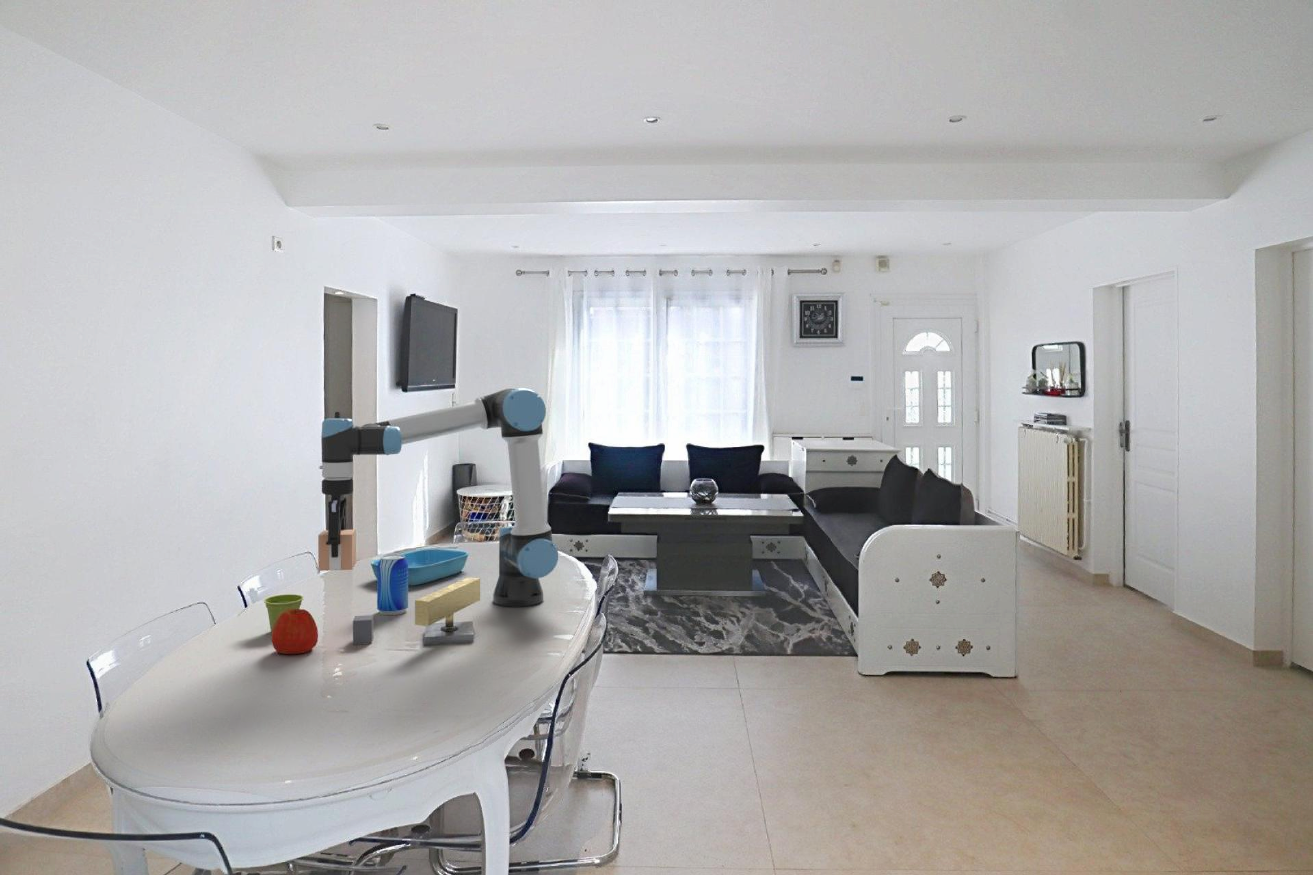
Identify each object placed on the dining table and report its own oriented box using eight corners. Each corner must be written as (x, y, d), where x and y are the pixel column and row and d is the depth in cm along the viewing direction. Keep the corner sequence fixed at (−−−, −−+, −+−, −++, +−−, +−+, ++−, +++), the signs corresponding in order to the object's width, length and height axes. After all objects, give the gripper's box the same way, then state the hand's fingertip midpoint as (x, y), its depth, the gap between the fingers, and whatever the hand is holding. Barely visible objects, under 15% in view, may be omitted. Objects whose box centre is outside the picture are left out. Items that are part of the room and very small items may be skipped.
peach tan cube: (356, 563, 210) (355, 529, 210) (352, 569, 203) (352, 534, 202) (323, 564, 208) (323, 530, 208) (318, 570, 201) (318, 535, 200)
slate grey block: (373, 638, 203) (373, 615, 203) (371, 643, 199) (371, 619, 198) (355, 639, 202) (355, 615, 202) (353, 644, 198) (352, 620, 197)
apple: (272, 660, 185) (271, 616, 184) (271, 648, 194) (270, 605, 193) (319, 654, 190) (319, 611, 189) (316, 642, 199) (316, 601, 198)
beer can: (398, 616, 223) (398, 560, 222) (371, 614, 224) (371, 558, 224) (413, 609, 231) (413, 554, 230) (387, 607, 233) (387, 553, 232)
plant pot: (311, 628, 211) (311, 596, 210) (284, 638, 202) (284, 604, 201) (283, 624, 214) (283, 592, 213) (255, 634, 205) (255, 601, 204)
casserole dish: (428, 563, 294) (428, 544, 294) (479, 569, 286) (479, 549, 286) (357, 585, 260) (357, 563, 260) (412, 592, 252) (412, 569, 252)
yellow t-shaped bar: (468, 612, 218) (468, 577, 218) (480, 614, 217) (480, 578, 217) (414, 640, 193) (414, 600, 193) (428, 641, 192) (428, 601, 192)
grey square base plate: (472, 628, 213) (472, 620, 213) (473, 641, 201) (473, 633, 201) (426, 631, 210) (426, 622, 210) (424, 644, 198) (424, 636, 198)
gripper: (328, 474, 213) (328, 558, 215) (314, 482, 193) (315, 575, 194) (357, 474, 215) (358, 557, 216) (347, 482, 195) (347, 574, 196)
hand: (337, 565), depth 205 cm, fingers closed on peach tan cube, 8 cm apart
